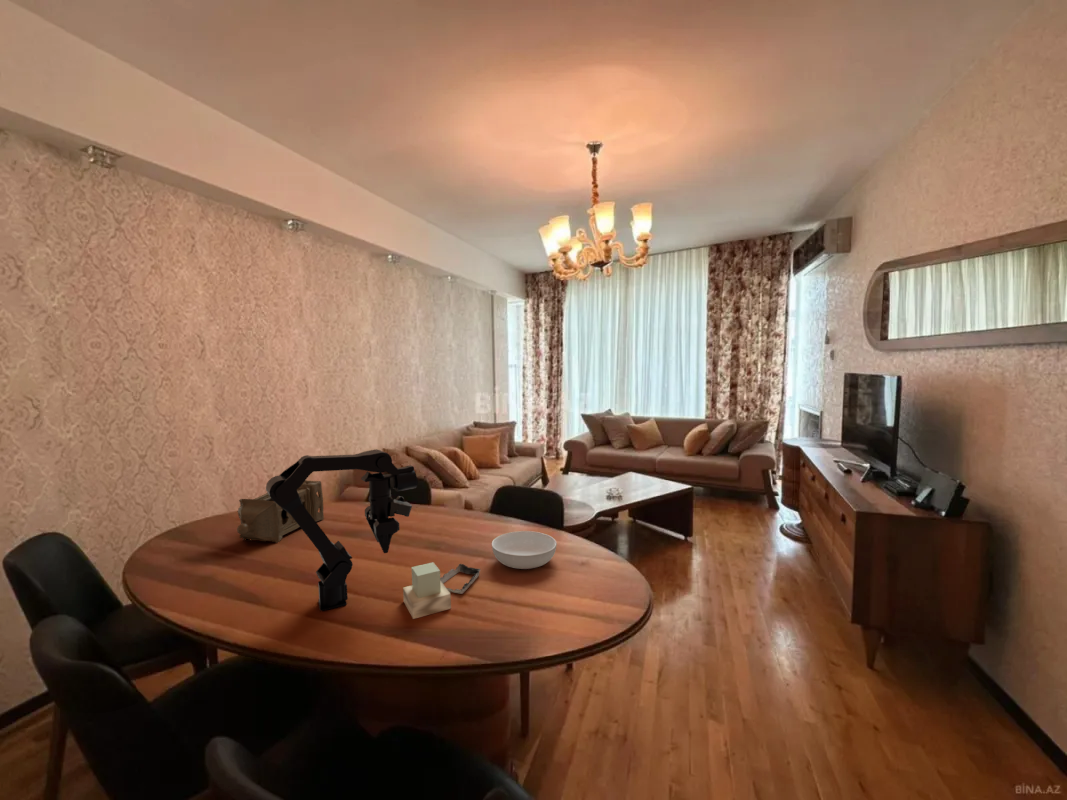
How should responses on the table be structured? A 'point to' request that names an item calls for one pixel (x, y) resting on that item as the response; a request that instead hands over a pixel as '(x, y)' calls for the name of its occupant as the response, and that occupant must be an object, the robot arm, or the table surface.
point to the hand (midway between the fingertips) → (382, 547)
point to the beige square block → (426, 602)
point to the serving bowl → (524, 549)
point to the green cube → (426, 580)
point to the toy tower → (277, 514)
